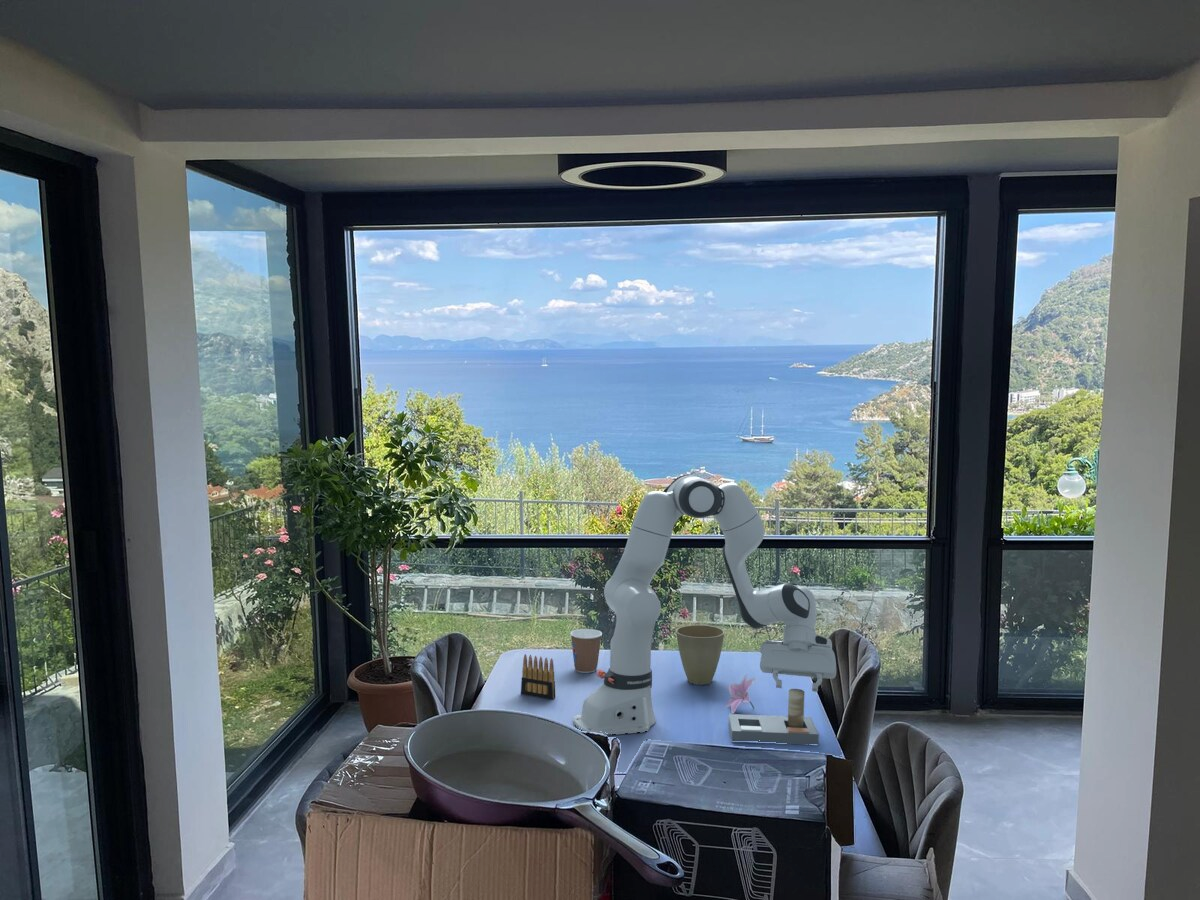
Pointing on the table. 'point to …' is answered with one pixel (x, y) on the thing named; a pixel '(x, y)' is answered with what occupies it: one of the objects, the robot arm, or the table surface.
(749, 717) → the socket deck
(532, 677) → the ammunition clip
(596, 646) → the coffee cup
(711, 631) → the plant pot
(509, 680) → the table surface
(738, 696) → the lily
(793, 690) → the peg
